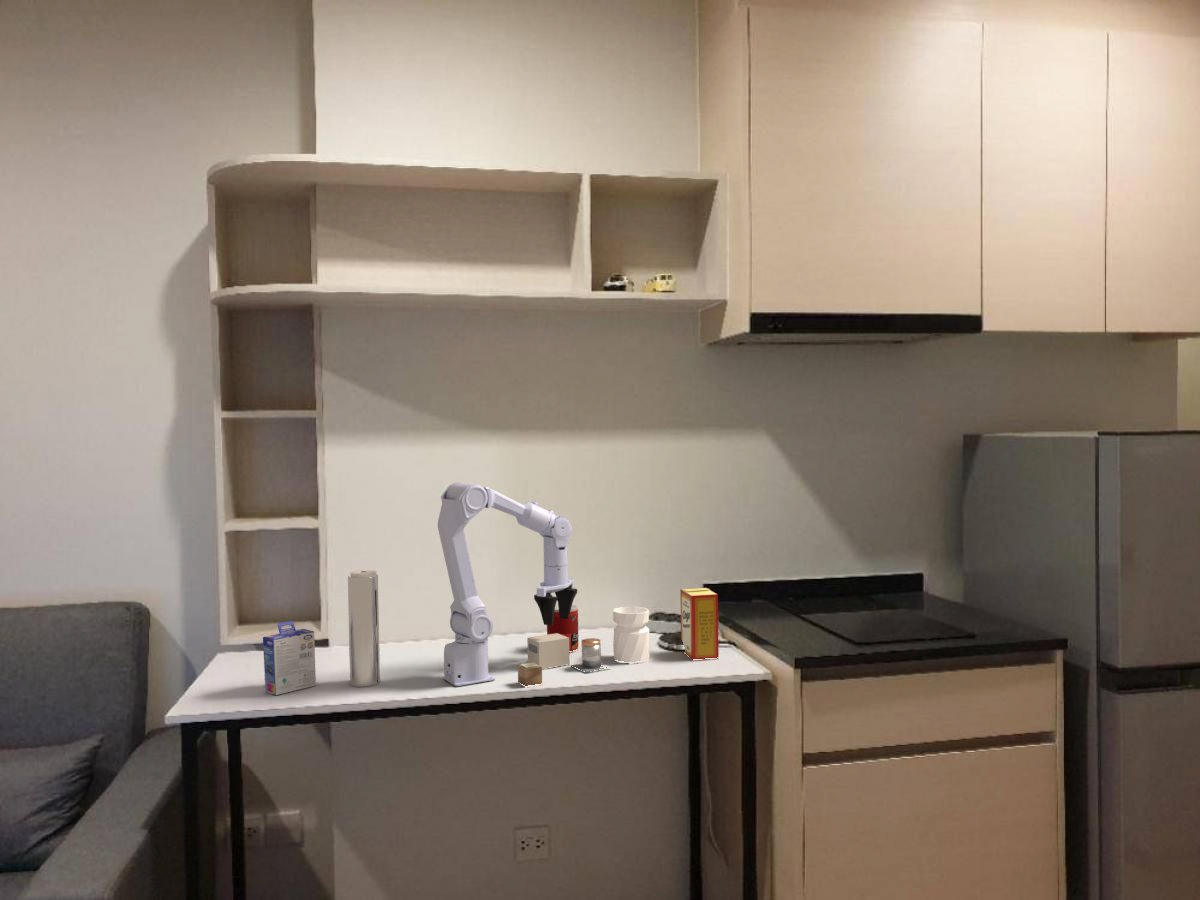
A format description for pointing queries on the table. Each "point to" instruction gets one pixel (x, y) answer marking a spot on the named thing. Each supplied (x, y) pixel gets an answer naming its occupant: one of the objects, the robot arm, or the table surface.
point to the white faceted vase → (631, 634)
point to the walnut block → (529, 674)
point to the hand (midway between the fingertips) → (556, 621)
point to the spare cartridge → (591, 653)
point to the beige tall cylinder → (363, 628)
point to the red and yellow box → (699, 623)
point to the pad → (586, 668)
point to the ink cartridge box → (289, 660)
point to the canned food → (566, 626)
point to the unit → (548, 650)
